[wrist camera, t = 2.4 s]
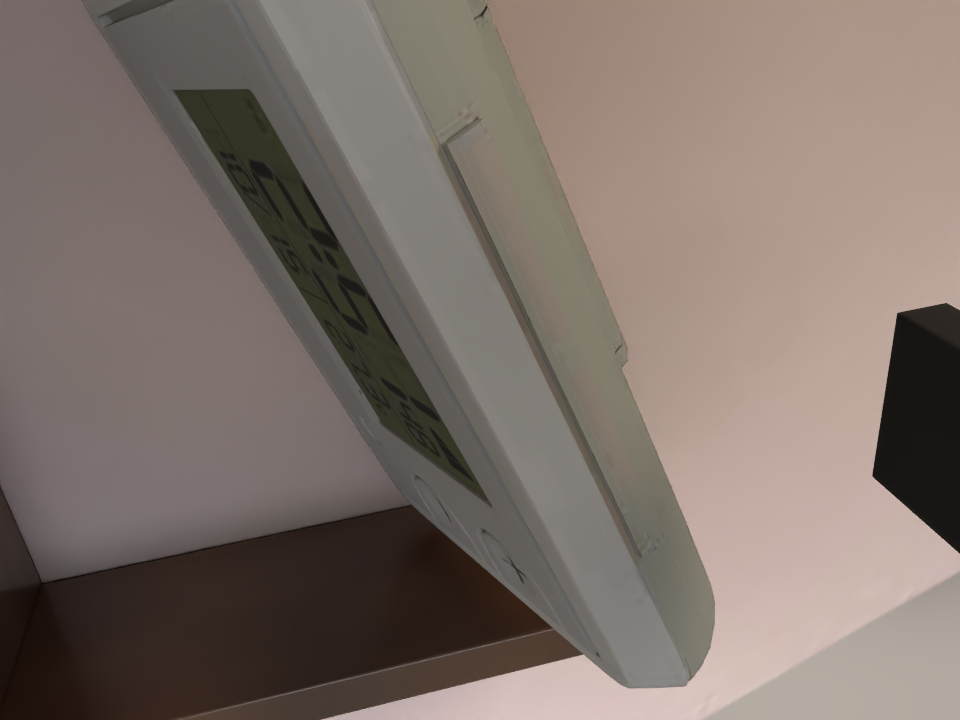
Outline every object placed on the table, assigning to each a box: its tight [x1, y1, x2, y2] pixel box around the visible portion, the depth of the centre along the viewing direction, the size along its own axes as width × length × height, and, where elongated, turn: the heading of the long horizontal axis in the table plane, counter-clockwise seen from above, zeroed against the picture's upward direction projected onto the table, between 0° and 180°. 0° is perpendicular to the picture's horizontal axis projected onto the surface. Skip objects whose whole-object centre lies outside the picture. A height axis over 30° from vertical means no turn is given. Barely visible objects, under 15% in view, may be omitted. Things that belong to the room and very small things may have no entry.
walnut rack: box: [0, 489, 583, 720], centre depth 18 cm, size 18×20×6 cm
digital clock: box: [82, 0, 715, 688], centre depth 17 cm, size 16×9×11 cm, turn 13°
